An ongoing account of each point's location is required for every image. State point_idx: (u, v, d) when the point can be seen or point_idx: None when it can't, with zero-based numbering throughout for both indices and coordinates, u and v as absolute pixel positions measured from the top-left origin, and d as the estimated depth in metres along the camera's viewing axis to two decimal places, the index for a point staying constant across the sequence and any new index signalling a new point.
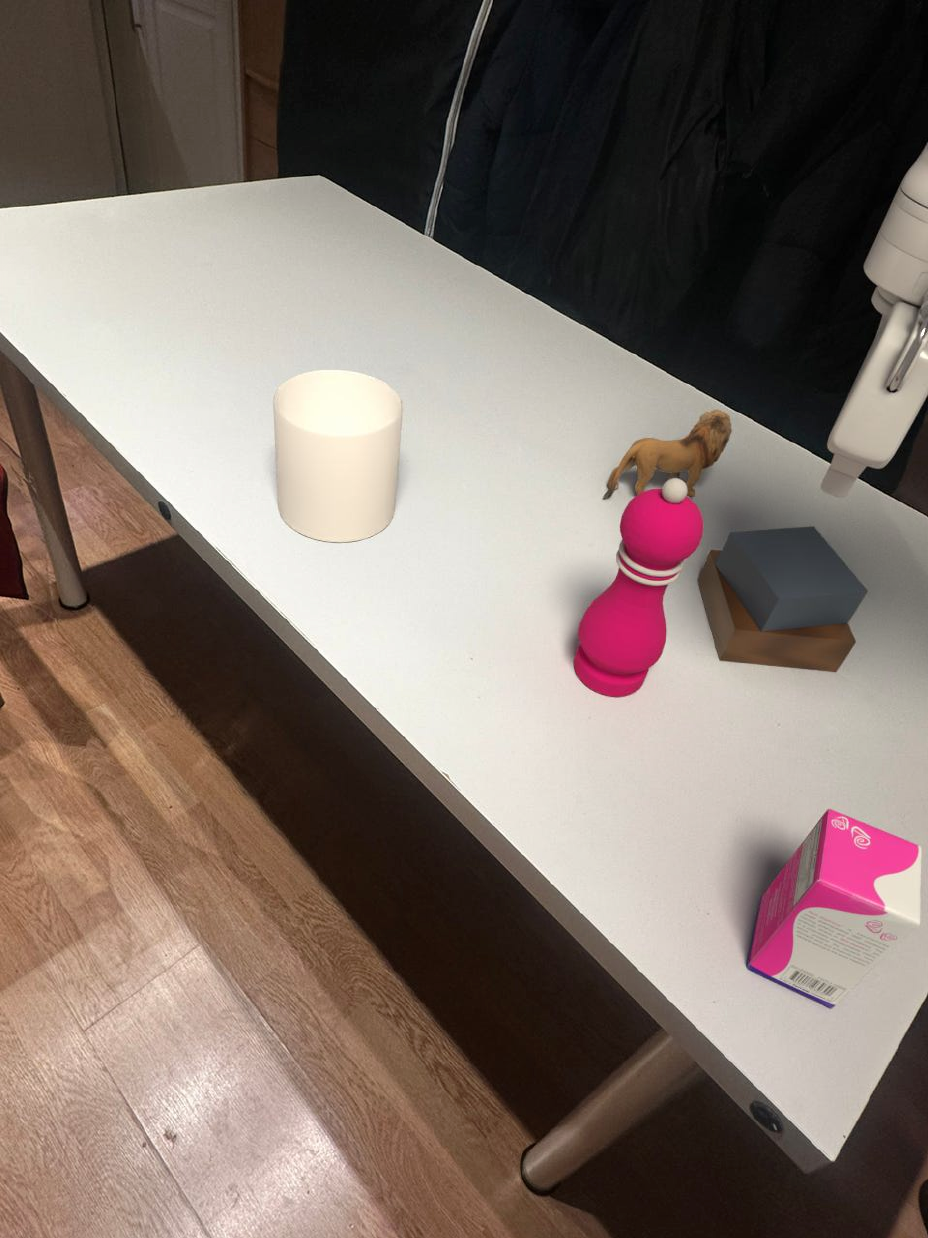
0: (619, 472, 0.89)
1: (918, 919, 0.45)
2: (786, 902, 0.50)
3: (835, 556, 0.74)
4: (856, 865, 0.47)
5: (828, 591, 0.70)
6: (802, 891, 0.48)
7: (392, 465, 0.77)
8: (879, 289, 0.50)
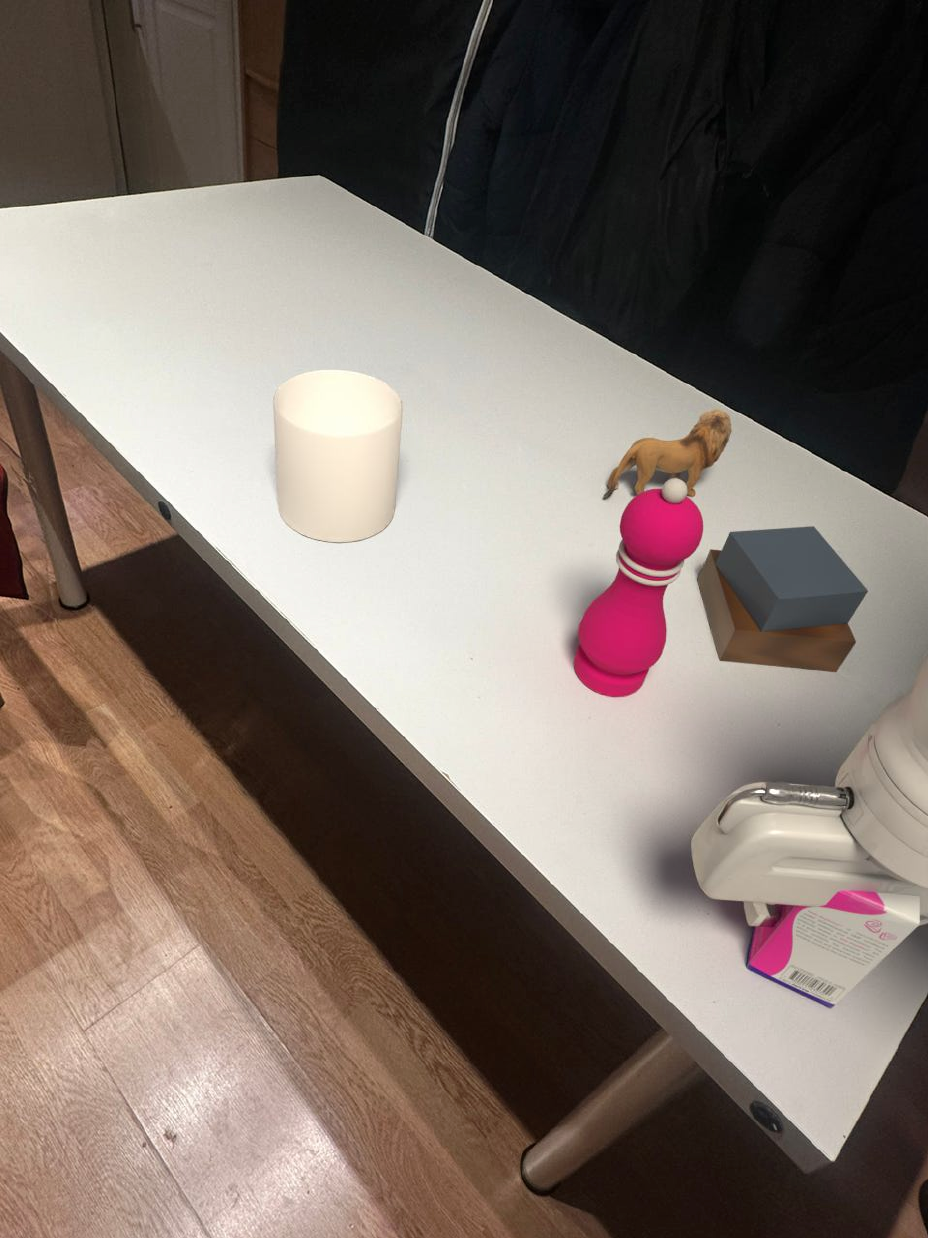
0: (619, 472, 0.89)
1: (917, 919, 0.45)
2: None
3: (835, 556, 0.74)
4: None
5: (828, 591, 0.70)
6: None
7: (392, 465, 0.77)
8: None
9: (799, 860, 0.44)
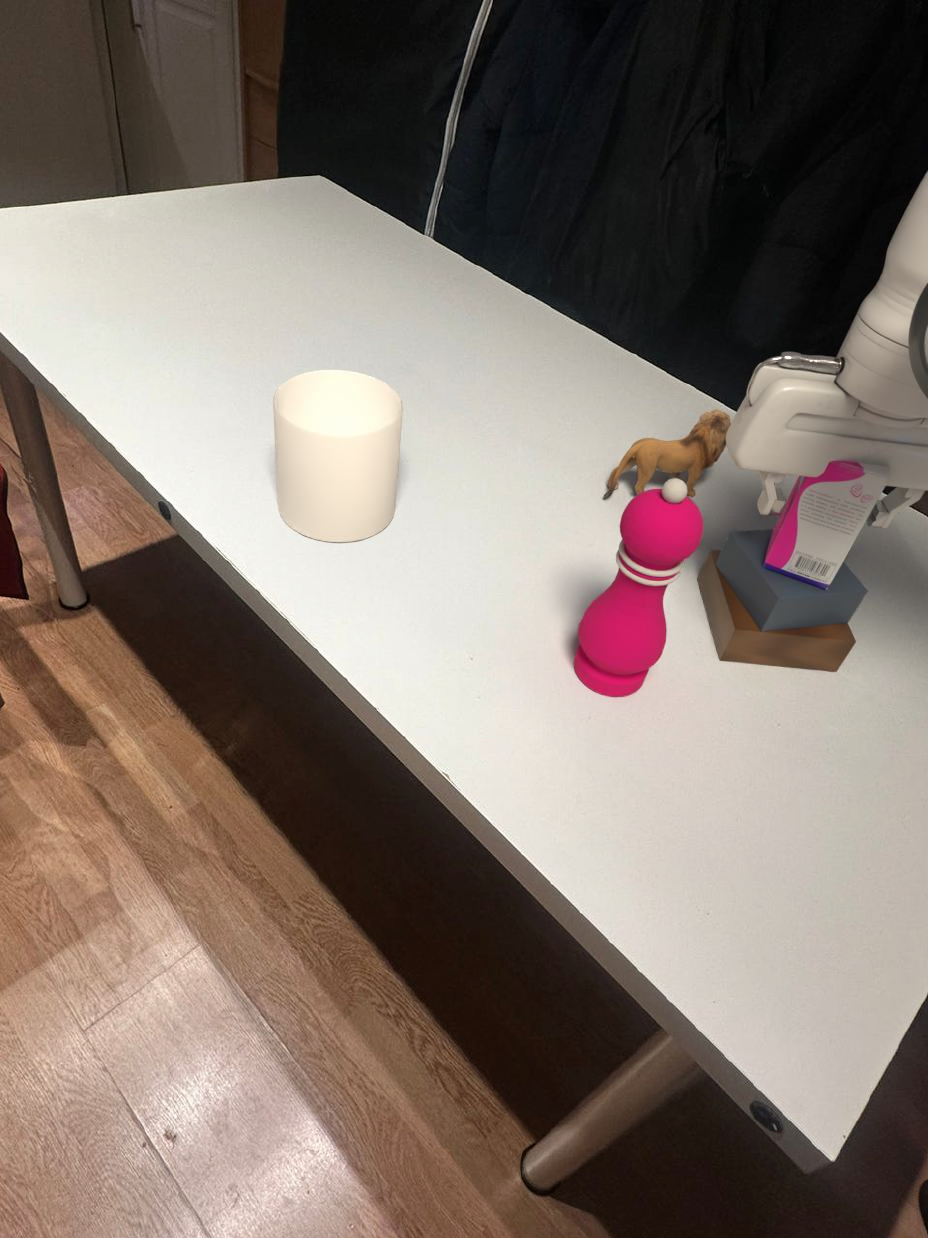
0: (619, 472, 0.89)
1: (887, 475, 0.63)
2: (792, 498, 0.68)
3: None
4: None
5: (828, 591, 0.70)
6: (804, 476, 0.66)
7: (392, 465, 0.77)
8: None
9: (806, 421, 0.61)
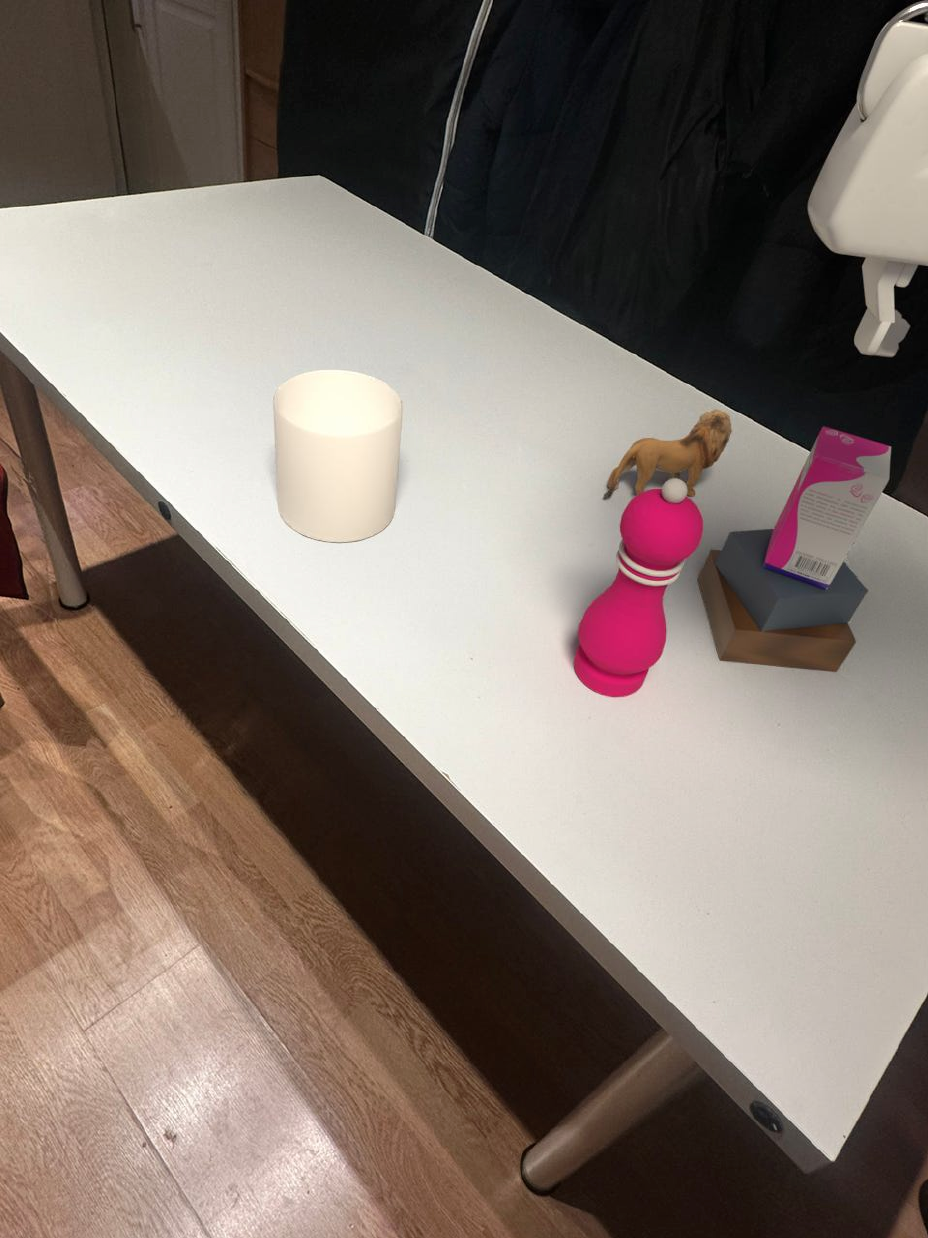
0: (619, 472, 0.89)
1: (887, 475, 0.63)
2: (792, 498, 0.68)
3: None
4: (843, 450, 0.65)
5: (828, 591, 0.70)
6: (804, 476, 0.66)
7: (392, 465, 0.77)
8: None
9: None
